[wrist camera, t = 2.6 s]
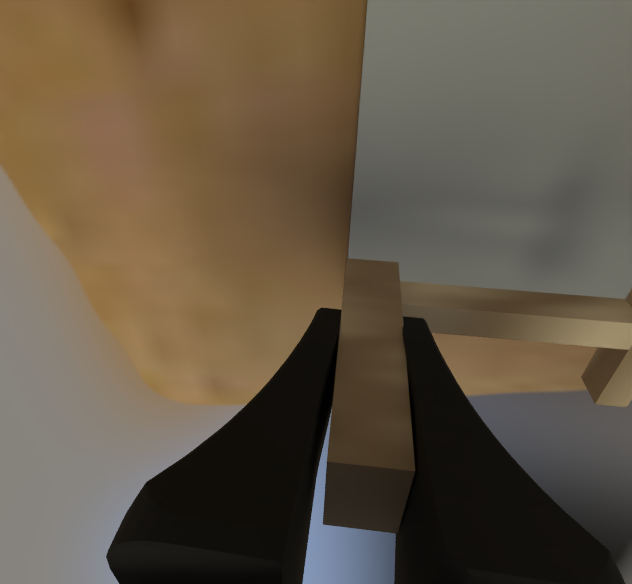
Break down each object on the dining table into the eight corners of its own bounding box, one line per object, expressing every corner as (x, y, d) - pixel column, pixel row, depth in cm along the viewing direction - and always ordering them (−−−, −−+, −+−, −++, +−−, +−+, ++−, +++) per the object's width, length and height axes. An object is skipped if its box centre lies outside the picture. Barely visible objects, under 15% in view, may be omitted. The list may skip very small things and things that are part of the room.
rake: (705, 228, 12) (1003, 464, 6) (610, 379, 15) (744, 614, 10) (350, 204, 12) (331, 396, 7) (339, 354, 16) (320, 560, 10)
